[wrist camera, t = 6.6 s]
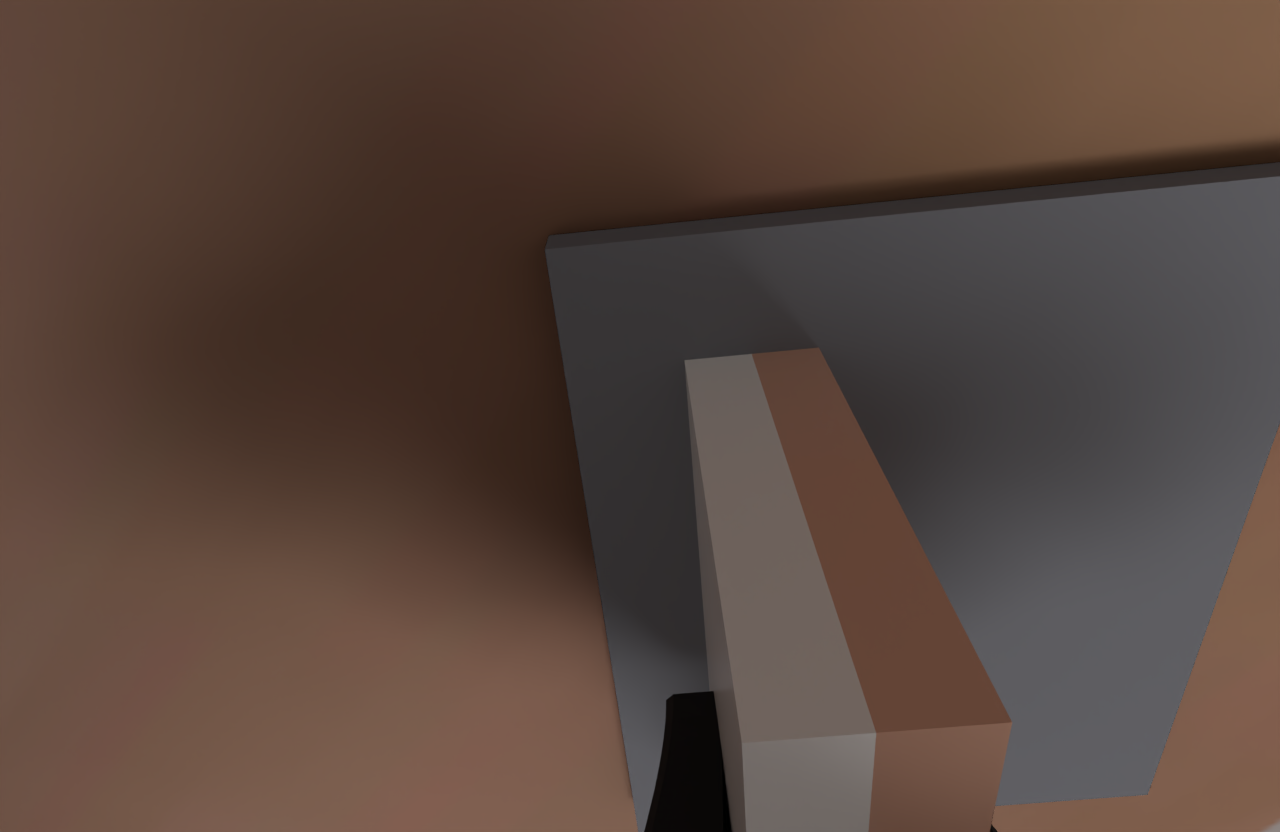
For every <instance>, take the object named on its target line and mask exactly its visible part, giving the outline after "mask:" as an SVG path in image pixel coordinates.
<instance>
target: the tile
mask: <svg viewBox="0 0 1280 832" xmlns="http://www.w3.org/2000/svg"><path fill="white" fill-rule="evenodd" d="M684 361H685V374H686V387H687V400H688V413H689V427H690V440H691V453H692V466H693V479H694V493H695V506H696V519H697V532H698V546H699V559H700V572H701V585H702V598H703V612H704V625H705V638H706V651H707V665H708V678H709V691H714V697H715V704H716V711H717V718H718V726H719V733H720V741H721V748H722V760H723V775H724V790H725V804H726V819H727V832H990V828H991V824H992V819H993V814H994V809H995V804H996V799H997V794H998V789H999V785H1000V780H1001V775H1002V770H1003V765H1004V760H1005V755H1006V751H1007V746H1008V741H1009V736H1010V731H1011V726H1012V721H1011V719H1010V717H1009V715H1008V713H1007V711H1006V709H1005V707H1004V705H1003V703H1002V702H1001V700H1000V698H999V696H998V694H997V692H996V690H995V688H994V686H993V684H992V682H991V680H990V678H989V676H988V674H987V672H986V671H985V669H984V667H983V665H982V663H981V661H980V659H979V657H978V655H977V653H976V651H975V649H974V647H973V645H972V643H971V641H970V639H969V638H968V636H967V634H966V632H965V630H964V628H963V626H962V624H961V622H960V620H959V618H958V616H957V614H956V612H955V610H954V608H953V607H952V605H951V603H950V601H949V599H948V597H947V595H946V593H945V591H944V589H943V587H942V585H941V583H940V581H939V579H938V577H937V576H936V574H935V572H934V570H933V568H932V566H931V564H930V562H929V560H928V558H927V556H926V554H925V552H924V550H923V548H922V546H921V544H920V543H919V541H918V539H917V537H916V535H915V533H914V531H913V529H912V527H911V525H910V523H909V521H908V519H907V517H906V515H905V513H904V512H903V510H902V508H901V506H900V504H899V502H898V500H897V498H896V496H895V494H894V492H893V490H892V488H891V486H890V484H889V482H888V481H887V479H886V477H885V475H884V473H883V471H882V469H881V467H880V465H879V463H878V461H877V459H876V457H875V455H874V453H873V451H872V449H871V448H870V446H869V444H868V442H867V440H866V438H865V436H864V434H863V432H862V430H861V428H860V426H859V424H858V422H857V420H856V418H855V417H854V415H853V413H852V411H851V409H850V407H849V405H848V403H847V401H846V399H845V397H844V395H843V393H842V391H841V389H840V387H839V385H838V384H837V382H836V380H835V378H834V376H833V374H832V372H831V370H830V368H829V366H828V364H827V362H826V360H825V358H824V356H823V354H822V353H821V351H820V349H819V348H809V349H798V350H788V351H777V352H766V353H756V354H745V355H734V356H724V357H713V358H702V359H692V360H684Z"/></svg>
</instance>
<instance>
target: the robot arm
mask: <svg viewBox="0 0 1280 832" xmlns="http://www.w3.org/2000/svg"><path fill="white" fill-rule="evenodd" d="M644 832H727V819H726V804H725V790H724V775H723V760H722V748H721V741H720V733H719V726H718V718H717V711H716V704H715V697H714V691H707V692H694V693H681V694H673V695H672V696H671V697H669V698H668V699H667V700H666V719H665V729H664V738H663V746H662V752H661V758H660V764H659V769H658V774H657V779H656V785H655V789H654V793H653V798H652V802H651V806H650V810H649V814H648V818H647V822H646V826H645V831H644ZM990 832H997V830H996V829H995V828H994V827H993V826H992V824H991V828H990Z"/></svg>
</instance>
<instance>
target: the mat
mask: <svg viewBox="0 0 1280 832" xmlns="http://www.w3.org/2000/svg"><path fill="white" fill-rule="evenodd" d="M545 254H546V261H547V267H548V273H549V279H550V286H551V292H552V298H553V304H554V310H555V317H556V323H557V329H558V335H559V341H560V348H561V354H562V360H563V366H564V373H565V379H566V385H567V391H568V397H569V404H570V410H571V416H572V422H573V428H574V435H575V441H576V447H577V453H578V460H579V466H580V472H581V478H582V484H583V491H584V497H585V503H586V509H587V515H588V522H589V528H590V534H591V540H592V546H593V553H594V559H595V565H596V571H597V578H598V584H599V590H600V596H601V602H602V609H603V615H604V621H605V627H606V633H607V640H608V646H609V652H610V658H611V665H612V671H613V677H614V683H615V689H616V696H617V702H618V708H619V714H620V720H621V727H622V733H623V739H624V745H625V752H626V758H627V764H628V770H629V776H630V783H631V789H632V795H633V801H634V807H635V814H636V820H637V826H638V832H644V831H645V826H646V822H647V818H648V814H649V810H650V806H651V802H652V798H653V793H654V789H655V785H656V779H657V774H658V769H659V764H660V758H661V752H662V746H663V738H664V729H665V719H666V700H667V699H668V698H669V697H671V696H672V695H673V694H681V693H694V692H707V691H709V678H708V665H707V651H706V638H705V625H704V612H703V598H702V585H701V572H700V559H699V546H698V532H697V519H696V506H695V493H694V479H693V466H692V453H691V440H690V427H689V413H688V400H687V387H686V374H685V361H684V360H692V359H702V358H713V357H724V356H734V355H745V354H756V353H766V352H777V351H788V350H798V349H809V348H819V349H820V351H821V353H822V354H823V356H824V358H825V360H826V362H827V364H828V366H829V368H830V370H831V372H832V374H833V376H834V378H835V380H836V382H837V384H838V385H839V387H840V389H841V391H842V393H843V395H844V397H845V399H846V401H847V403H848V405H849V407H850V409H851V411H852V413H853V415H854V417H855V418H856V420H857V422H858V424H859V426H860V428H861V430H862V432H863V434H864V436H865V438H866V440H867V442H868V444H869V446H870V448H871V449H872V451H873V453H874V455H875V457H876V459H877V461H878V463H879V465H880V467H881V469H882V471H883V473H884V475H885V477H886V479H887V481H888V482H889V484H890V486H891V488H892V490H893V492H894V494H895V496H896V498H897V500H898V502H899V504H900V506H901V508H902V510H903V512H904V513H905V515H906V517H907V519H908V521H909V523H910V525H911V527H912V529H913V531H914V533H915V535H916V537H917V539H918V541H919V543H920V544H921V546H922V548H923V550H924V552H925V554H926V556H927V558H928V560H929V562H930V564H931V566H932V568H933V570H934V572H935V574H936V576H937V577H938V579H939V581H940V583H941V585H942V587H943V589H944V591H945V593H946V595H947V597H948V599H949V601H950V603H951V605H952V607H953V608H954V610H955V612H956V614H957V616H958V618H959V620H960V622H961V624H962V626H963V628H964V630H965V632H966V634H967V636H968V638H969V639H970V641H971V643H972V645H973V647H974V649H975V651H976V653H977V655H978V657H979V659H980V661H981V663H982V665H983V667H984V669H985V671H986V672H987V674H988V676H989V678H990V680H991V682H992V684H993V686H994V688H995V690H996V692H997V694H998V696H999V698H1000V700H1001V702H1002V703H1003V705H1004V707H1005V709H1006V711H1007V713H1008V715H1009V717H1010V719H1011V721H1012V726H1011V731H1010V736H1009V741H1008V746H1007V751H1006V755H1005V760H1004V765H1003V770H1002V775H1001V780H1000V785H999V789H998V794H997V799H996V804H995V806H1001V805H1014V804H1028V803H1042V802H1055V801H1069V800H1082V799H1096V798H1109V797H1123V796H1136V795H1148V792H1149V789H1150V786H1151V783H1152V781H1153V778H1154V775H1155V772H1156V769H1157V767H1158V764H1159V761H1160V758H1161V755H1162V752H1163V750H1164V747H1165V744H1166V741H1167V738H1168V736H1169V733H1170V730H1171V727H1172V724H1173V722H1174V719H1175V716H1176V713H1177V710H1178V708H1179V705H1180V702H1181V699H1182V696H1183V693H1184V691H1185V688H1186V685H1187V682H1188V679H1189V677H1190V674H1191V671H1192V668H1193V665H1194V663H1195V660H1196V657H1197V654H1198V651H1199V649H1200V646H1201V643H1202V640H1203V637H1204V634H1205V632H1206V629H1207V626H1208V623H1209V620H1210V618H1211V615H1212V612H1213V609H1214V606H1215V604H1216V601H1217V598H1218V595H1219V592H1220V590H1221V587H1222V584H1223V581H1224V578H1225V576H1226V573H1227V570H1228V567H1229V564H1230V561H1231V559H1232V556H1233V553H1234V550H1235V547H1236V545H1237V542H1238V539H1239V536H1240V533H1241V531H1242V528H1243V525H1244V522H1245V519H1246V517H1247V514H1248V511H1249V508H1250V505H1251V502H1252V500H1253V497H1254V494H1255V491H1256V488H1257V486H1258V483H1259V480H1260V477H1261V474H1262V472H1263V469H1264V466H1265V463H1266V460H1267V458H1268V455H1269V452H1270V449H1271V446H1272V443H1273V441H1274V438H1275V435H1276V432H1277V429H1278V427H1279V424H1280V162H1277V163H1267V164H1257V165H1247V166H1237V167H1227V168H1217V169H1207V170H1197V171H1187V172H1177V173H1167V174H1157V175H1147V176H1137V177H1127V178H1117V179H1107V180H1097V181H1087V182H1077V183H1067V184H1057V185H1047V186H1037V187H1027V188H1017V189H1007V190H997V191H987V192H977V193H967V194H957V195H947V196H937V197H927V198H917V199H907V200H897V201H887V202H877V203H867V204H857V205H847V206H837V207H827V208H817V209H807V210H797V211H787V212H777V213H767V214H757V215H747V216H737V217H728V218H718V219H708V220H698V221H688V222H678V223H668V224H658V225H648V226H638V227H628V228H618V229H608V230H598V231H588V232H578V233H568V234H558V235H549V237H548V240H547V243H546V247H545Z"/></svg>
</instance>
